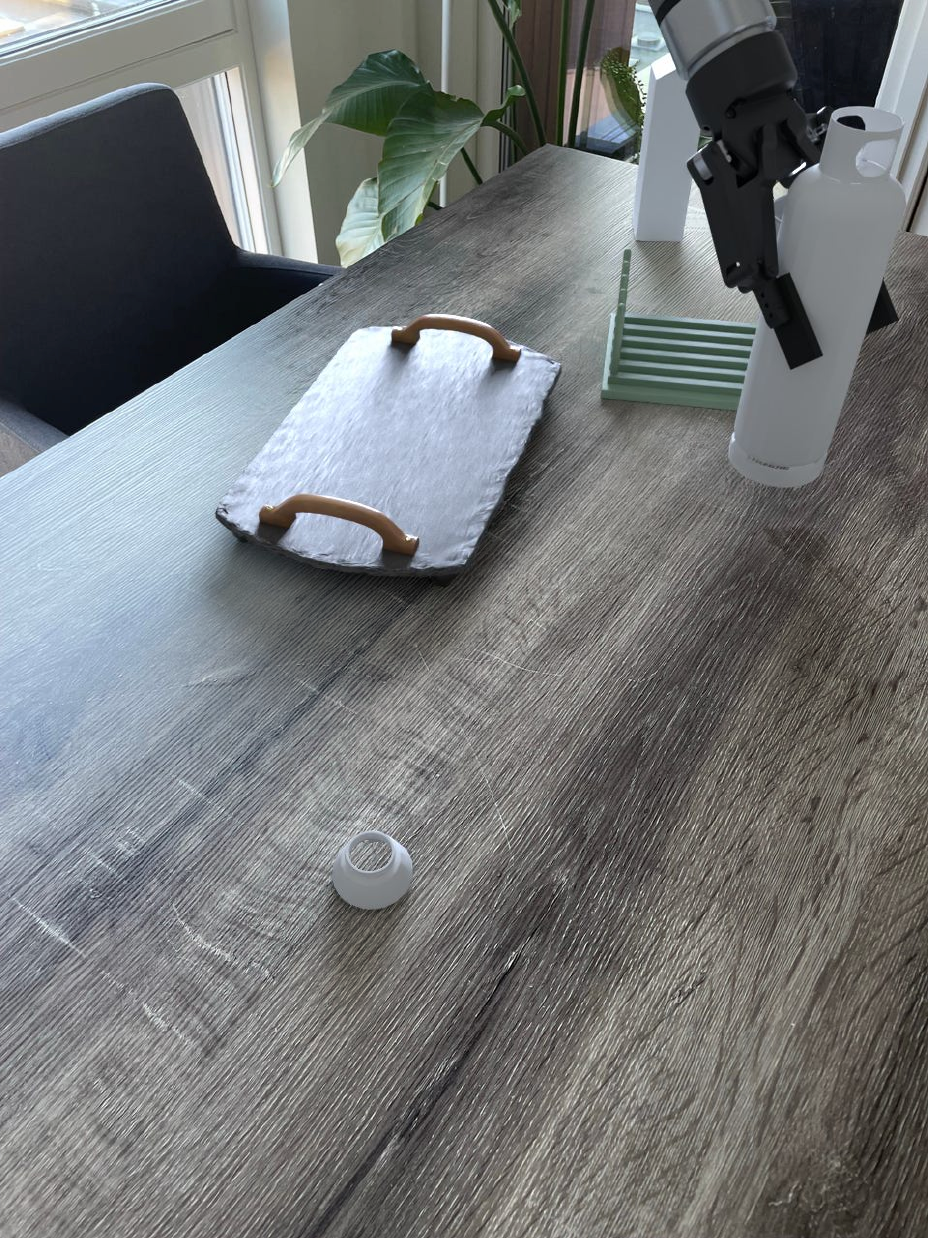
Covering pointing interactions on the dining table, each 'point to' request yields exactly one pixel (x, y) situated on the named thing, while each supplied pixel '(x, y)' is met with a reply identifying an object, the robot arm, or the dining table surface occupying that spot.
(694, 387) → the rack
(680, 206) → the milk
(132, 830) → the dining table surface
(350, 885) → the grey flared ring
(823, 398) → the bottle
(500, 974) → the dining table surface
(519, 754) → the dining table surface
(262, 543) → the serving tray
